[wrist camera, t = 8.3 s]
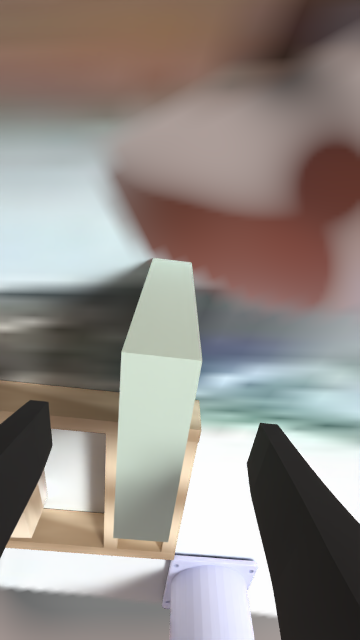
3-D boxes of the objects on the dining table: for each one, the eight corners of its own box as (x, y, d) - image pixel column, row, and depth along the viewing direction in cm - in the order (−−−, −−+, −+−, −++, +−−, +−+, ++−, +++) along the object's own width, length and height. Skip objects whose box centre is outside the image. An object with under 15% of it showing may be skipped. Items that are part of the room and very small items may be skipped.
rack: (174, 526, 26) (173, 560, 23) (-15, 511, 25) (-34, 544, 23) (199, 400, 19) (201, 430, 17) (-51, 374, 19) (-83, 402, 16)
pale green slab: (174, 385, 19) (167, 542, 11) (142, 381, 19) (113, 538, 11) (191, 262, 15) (202, 360, 7) (153, 257, 15) (121, 351, 7)
